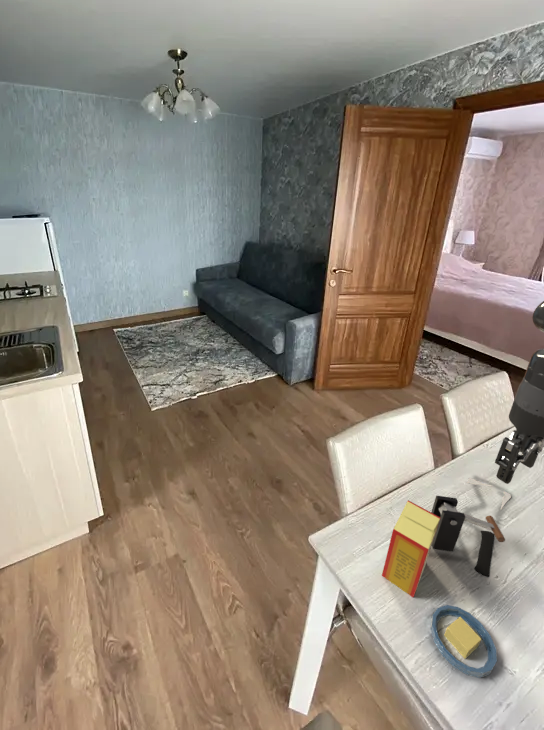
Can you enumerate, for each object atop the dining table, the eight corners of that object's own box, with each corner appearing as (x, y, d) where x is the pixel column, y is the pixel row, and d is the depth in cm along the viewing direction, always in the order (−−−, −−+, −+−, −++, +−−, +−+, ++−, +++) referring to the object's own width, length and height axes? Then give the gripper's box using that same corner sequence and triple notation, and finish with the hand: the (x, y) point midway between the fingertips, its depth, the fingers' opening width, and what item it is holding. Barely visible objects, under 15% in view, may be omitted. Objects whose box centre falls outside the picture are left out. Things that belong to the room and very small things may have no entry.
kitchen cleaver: (469, 475, 102) (511, 490, 95) (468, 480, 102) (510, 495, 96) (443, 554, 80) (496, 581, 73) (443, 559, 80) (495, 586, 74)
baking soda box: (412, 601, 72) (428, 549, 66) (380, 579, 76) (393, 528, 69) (425, 566, 78) (440, 516, 72) (395, 548, 82) (408, 498, 76)
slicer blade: (489, 522, 81) (495, 515, 80) (501, 544, 76) (508, 537, 75) (435, 502, 82) (441, 495, 81) (444, 523, 77) (450, 516, 76)
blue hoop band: (476, 619, 69) (480, 610, 68) (503, 687, 59) (508, 678, 58) (422, 609, 70) (425, 600, 69) (440, 674, 61) (443, 665, 60)
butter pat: (456, 626, 67) (460, 616, 66) (477, 648, 64) (481, 638, 63) (443, 637, 65) (446, 627, 64) (463, 661, 62) (468, 651, 61)
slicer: (453, 532, 86) (466, 494, 81) (467, 564, 79) (482, 525, 74) (411, 525, 88) (421, 488, 83) (420, 556, 80) (432, 517, 75)
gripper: (545, 428, 57) (516, 500, 63) (584, 404, 63) (554, 471, 69) (496, 405, 63) (474, 472, 69) (536, 384, 69) (512, 448, 75)
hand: (514, 472), depth 69 cm, fingers open, 8 cm apart
